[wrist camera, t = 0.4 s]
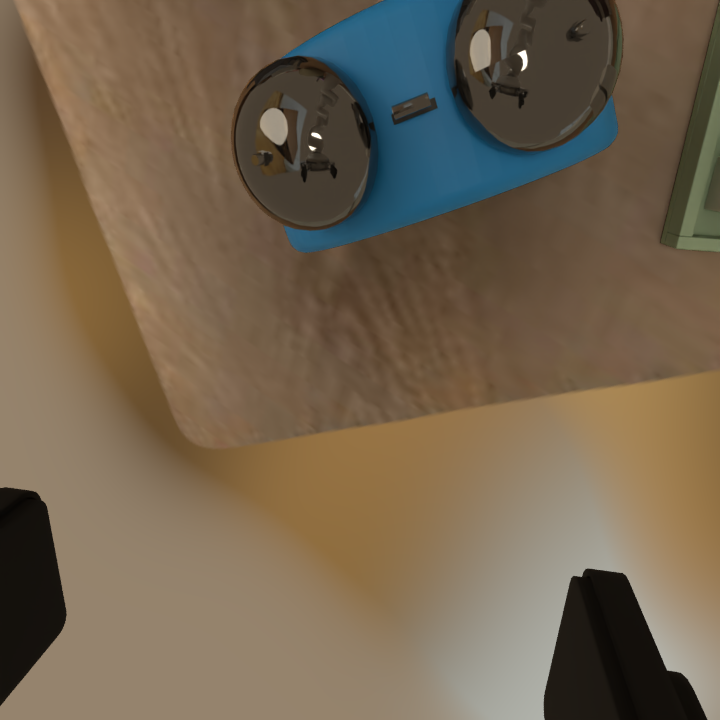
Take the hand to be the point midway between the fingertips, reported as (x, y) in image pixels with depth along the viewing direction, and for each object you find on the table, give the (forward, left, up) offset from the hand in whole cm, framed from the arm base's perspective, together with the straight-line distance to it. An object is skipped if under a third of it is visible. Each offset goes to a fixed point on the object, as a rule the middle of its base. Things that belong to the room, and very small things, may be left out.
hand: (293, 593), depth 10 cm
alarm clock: (-9, +1, -23) cm, 24 cm away
